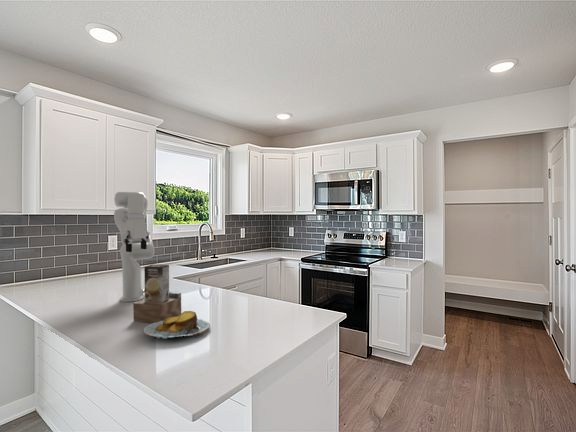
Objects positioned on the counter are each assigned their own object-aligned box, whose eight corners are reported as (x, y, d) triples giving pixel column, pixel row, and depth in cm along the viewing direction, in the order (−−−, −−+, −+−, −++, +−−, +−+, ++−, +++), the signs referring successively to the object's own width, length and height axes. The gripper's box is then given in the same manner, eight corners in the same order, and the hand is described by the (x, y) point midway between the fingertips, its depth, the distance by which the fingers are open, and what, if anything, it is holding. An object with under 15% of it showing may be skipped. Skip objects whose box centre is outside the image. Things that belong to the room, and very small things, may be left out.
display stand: (157, 311, 154) (157, 290, 154) (181, 313, 149) (181, 292, 149) (133, 321, 139) (133, 298, 139) (159, 324, 135) (158, 301, 135)
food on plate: (137, 330, 129) (137, 315, 129) (195, 318, 144) (195, 303, 144) (154, 351, 109) (153, 332, 109) (220, 334, 124) (219, 317, 124)
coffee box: (143, 301, 141) (143, 266, 141) (151, 298, 148) (151, 264, 148) (162, 302, 140) (162, 266, 140) (170, 298, 146) (169, 264, 146)
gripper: (142, 215, 167) (143, 247, 168) (116, 217, 150) (116, 252, 151) (154, 216, 165) (154, 248, 165) (128, 217, 148) (128, 253, 149)
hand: (136, 250), depth 158 cm, fingers open, 9 cm apart
